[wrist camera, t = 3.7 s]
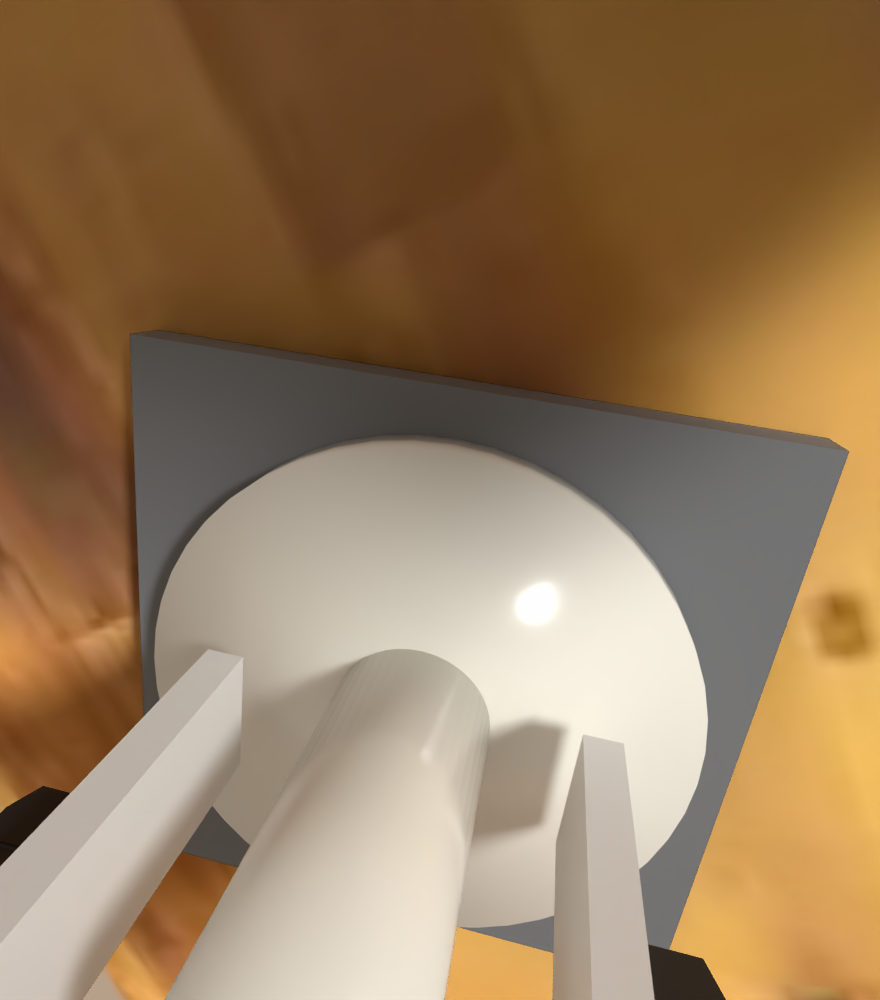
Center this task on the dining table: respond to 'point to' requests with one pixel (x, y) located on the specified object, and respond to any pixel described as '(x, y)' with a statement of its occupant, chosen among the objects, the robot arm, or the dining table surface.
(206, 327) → the dining table surface
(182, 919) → the dining table surface
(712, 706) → the mat
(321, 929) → the lid
